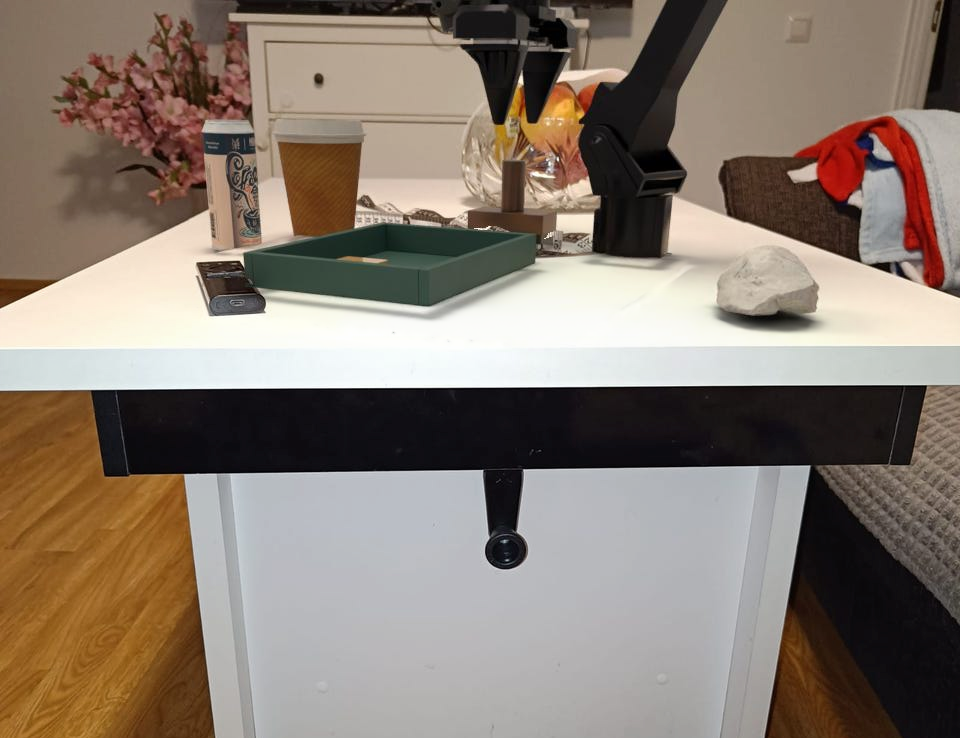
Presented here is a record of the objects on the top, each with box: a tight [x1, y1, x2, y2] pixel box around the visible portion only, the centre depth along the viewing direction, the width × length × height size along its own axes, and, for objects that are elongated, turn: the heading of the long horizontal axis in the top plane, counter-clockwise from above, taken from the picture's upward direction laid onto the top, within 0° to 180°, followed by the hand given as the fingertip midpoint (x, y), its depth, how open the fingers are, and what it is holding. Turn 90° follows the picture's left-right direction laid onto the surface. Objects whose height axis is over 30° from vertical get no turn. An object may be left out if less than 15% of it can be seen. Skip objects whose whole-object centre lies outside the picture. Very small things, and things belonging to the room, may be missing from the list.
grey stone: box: [716, 244, 820, 317], centre depth 67 cm, size 9×8×5 cm
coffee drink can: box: [201, 119, 263, 253], centre depth 89 cm, size 5×5×12 cm
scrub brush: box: [467, 159, 558, 246], centre depth 97 cm, size 8×4×8 cm, turn 67°
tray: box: [242, 221, 537, 308], centre depth 77 cm, size 16×22×3 cm
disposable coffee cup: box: [271, 118, 367, 238], centre depth 97 cm, size 10×10×12 cm
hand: (516, 124), depth 94 cm, fingers open, 9 cm apart
